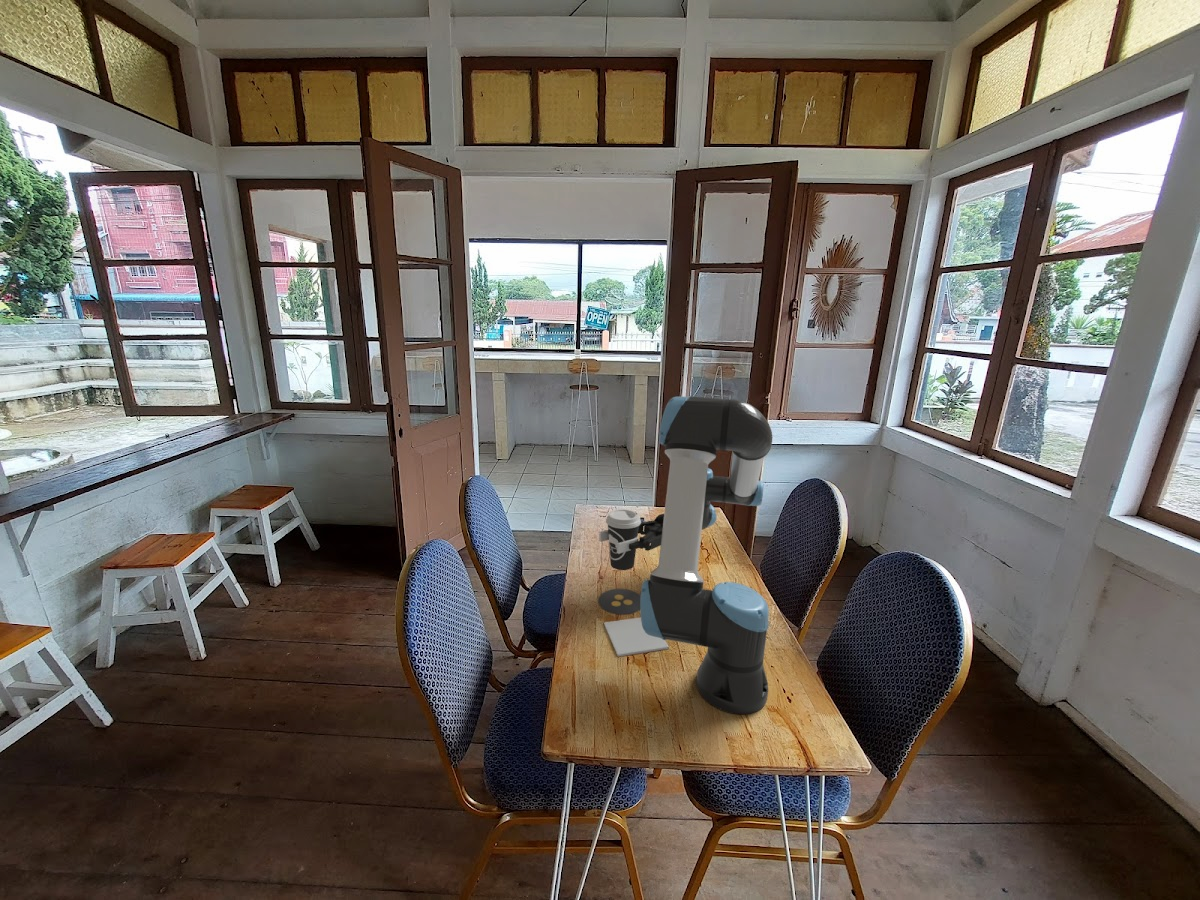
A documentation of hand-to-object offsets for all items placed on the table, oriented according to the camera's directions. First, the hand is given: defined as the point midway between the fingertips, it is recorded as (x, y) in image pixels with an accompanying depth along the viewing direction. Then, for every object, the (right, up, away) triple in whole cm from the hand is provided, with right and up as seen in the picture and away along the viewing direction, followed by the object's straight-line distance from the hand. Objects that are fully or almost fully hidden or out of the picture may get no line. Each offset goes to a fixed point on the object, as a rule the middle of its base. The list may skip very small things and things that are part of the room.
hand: (608, 542), depth 133 cm
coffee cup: (+4, -7, +5) cm, 9 cm away
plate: (+7, -22, -7) cm, 24 cm away
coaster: (+4, -18, +8) cm, 20 cm away
